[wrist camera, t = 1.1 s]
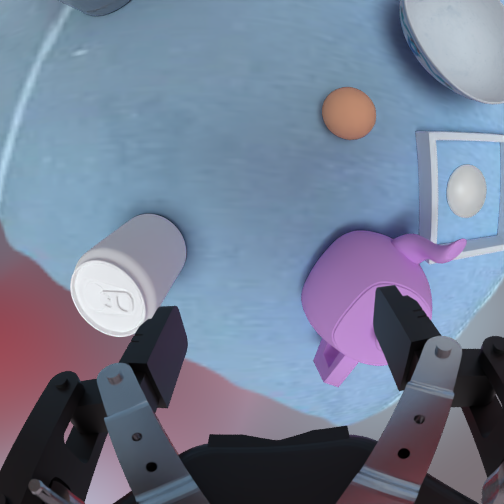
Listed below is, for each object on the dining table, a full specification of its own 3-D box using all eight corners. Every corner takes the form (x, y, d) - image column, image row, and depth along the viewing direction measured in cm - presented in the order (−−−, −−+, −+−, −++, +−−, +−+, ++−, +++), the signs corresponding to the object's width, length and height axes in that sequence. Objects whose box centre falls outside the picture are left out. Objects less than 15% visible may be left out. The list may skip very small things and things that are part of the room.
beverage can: (120, 209, 32) (58, 249, 21) (188, 214, 32) (147, 260, 21) (124, 274, 35) (75, 331, 24) (187, 282, 35) (155, 349, 24)
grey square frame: (415, 131, 27) (428, 132, 24) (503, 134, 25) (518, 136, 22) (418, 253, 32) (429, 264, 29) (500, 240, 30) (513, 248, 28)
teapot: (448, 236, 31) (502, 276, 21) (353, 356, 38) (371, 419, 28) (368, 171, 29) (415, 193, 19) (268, 316, 36) (267, 384, 26)
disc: (445, 164, 28) (447, 165, 27) (485, 164, 27) (486, 164, 27) (445, 219, 30) (447, 220, 30) (483, 215, 29) (485, 215, 29)
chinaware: (497, 50, 21) (536, 43, 14) (456, 132, 26) (498, 137, 19) (407, -32, 19) (434, -59, 12) (352, 43, 24) (376, 20, 17)
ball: (314, 92, 26) (323, 84, 22) (362, 89, 26) (379, 83, 21) (321, 141, 28) (332, 142, 23) (369, 137, 28) (387, 139, 23)
